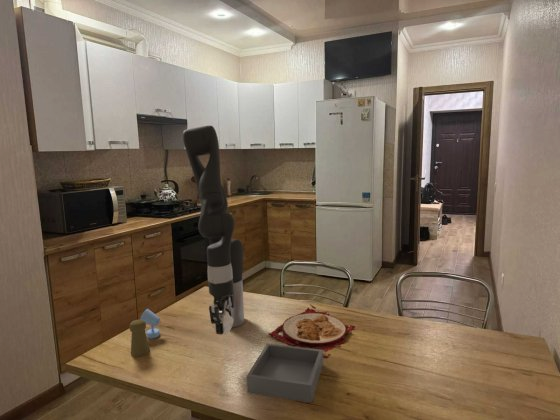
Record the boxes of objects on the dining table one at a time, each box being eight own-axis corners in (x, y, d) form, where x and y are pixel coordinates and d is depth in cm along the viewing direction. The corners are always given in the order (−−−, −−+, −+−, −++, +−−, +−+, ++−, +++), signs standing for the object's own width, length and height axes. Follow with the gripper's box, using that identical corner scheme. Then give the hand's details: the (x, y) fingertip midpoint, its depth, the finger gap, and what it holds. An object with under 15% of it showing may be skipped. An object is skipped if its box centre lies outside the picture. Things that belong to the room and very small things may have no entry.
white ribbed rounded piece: (234, 335, 117) (233, 314, 116) (214, 337, 116) (213, 316, 115) (233, 325, 123) (232, 305, 122) (214, 328, 122) (212, 307, 121)
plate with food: (266, 338, 136) (266, 329, 135) (308, 310, 156) (308, 302, 155) (325, 362, 121) (325, 352, 120) (363, 327, 141) (363, 318, 140)
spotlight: (139, 337, 138) (157, 339, 136) (137, 311, 136) (154, 313, 135) (147, 331, 142) (164, 332, 141) (144, 306, 141) (161, 307, 139)
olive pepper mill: (143, 357, 125) (140, 325, 123) (127, 355, 126) (123, 324, 124) (153, 347, 130) (150, 317, 129) (137, 346, 132) (134, 316, 130)
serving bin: (267, 357, 122) (266, 343, 121) (323, 365, 117) (322, 349, 116) (247, 392, 105) (246, 376, 104) (311, 402, 100) (311, 385, 99)
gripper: (218, 269, 124) (222, 317, 127) (198, 285, 110) (203, 339, 113) (240, 270, 122) (243, 318, 125) (222, 287, 108) (226, 341, 111)
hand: (224, 328), depth 119 cm, fingers closed on white ribbed rounded piece, 6 cm apart
